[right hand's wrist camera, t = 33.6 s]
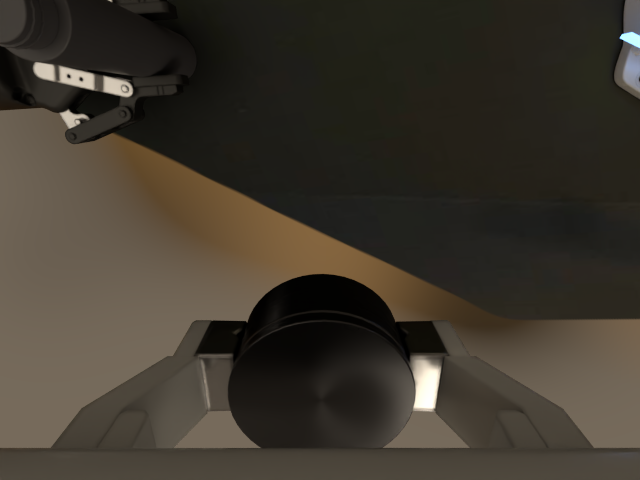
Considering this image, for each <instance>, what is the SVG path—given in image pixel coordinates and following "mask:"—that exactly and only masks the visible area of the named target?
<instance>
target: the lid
mask: <svg viewBox="0 0 640 480" xmlns="http://www.w3.org/2000/svg"><path fill="white" fill-rule="evenodd" d="M415 397H416V386H415V379H414V376H413V372H412V369H411V366H410V364H409V361H408V358H407V355H406V352H405V349H404V346H403V343H402V340H401V337H400V334H399V331H398V328H397V325H396V322H395V319H394V317H393V315H392V313H391V311H390V309H389V308H388V306H387V305H386V303H385V302H384V301H383V300H382V299H381V298H380V296H378V295H377V294H376V293H375V292H374V291H373V290H371V289H370V288H368V287H366V286H365V285H363V284H361V283H359V282H357V281H355V280H352V279H349V278H346V277H342V276H337V275H329V274H313V275H306V276H301V277H297V278H294V279H291V280H288V281H286V282H284V283H282V284H280V285H278V286H276V287H275V288H273V289H272V290H271V291H269V292H268V293H267V294H265V295H264V296H263V297H262V299H261V300H260V301H259V302H258V303H257V305H256V306H255V307H254V309H253V311H252V313H251V314H250V316H249V319H248V322H247V325H246V328H245V331H244V334H243V337H242V340H241V343H240V347H239V350H238V353H237V356H236V359H235V362H234V365H233V368H232V371H231V374H230V377H229V382H228V402H229V407H230V410H231V413H232V416H233V418H234V419H235V421H236V423H237V425H238V426H239V428H240V429H241V430H242V432H243V433H244V434H245V435H246V436H247V437H248V438H249V439H250V440H251V441H253V442H254V443H255V444H256V445H258V446H259V447H261V448H383V447H384V446H385V445H387V444H388V443H389V442H391V441H392V440H393V439H394V438H395V437H396V436H397V435H398V434H399V433H400V432H401V430H402V429H403V428H404V427H405V425H406V423H407V422H408V420H409V418H410V416H411V413H412V411H413V408H414V404H415Z"/></svg>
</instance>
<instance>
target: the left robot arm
mask: <svg viewBox="0 0 640 480" xmlns="http://www.w3.org/2000/svg"><path fill="white" fill-rule="evenodd" d="M109 1H111V2H113V3H115V4H117V5H119V6H121V7H123V8H125V9H127V10H130V11H132V12H134V13H136V14H138V15H140V16H142V17H144V18H146V19H148V20H150V21H152V20H165V19H176V18H178V17H177V11H176V7H175V6H174V5H172V4H171V3H169V2H167V0H109ZM132 79H133V80H128V79H124V78H120V77H117V76H113V75H109V74H104V73H103V72H102V71H95V70H88V69H81V68H74V67H67V66H60V65H53V64H46V63H38V62H32V61H28V60H25V59H23V58H20V57H18V56H17V55H15V54H13V53H12V52H10V51H9V50H8V49H6V48H5V47H2V46H0V110H14V109H29V108H45V109H48V110H50V111H52V112H55V113H59V114H60V116H61V117H62V119H63V120H64V122H65V124H66V125H67V127H68V128H69V129H68V130H67V131H66V132H65V137H66V139H67V140H68V141H69V142H70V143H72V144H79V143H85V142H90V141H95V140H97V139H100V138H102V137H104V136H106V135H109V134H111V133H113V132H115V131H118V130H120V129H122V128H124V127H127V126H129V125H131V124H134V123H136V122H138V121H140V120H142V119H143V118H144V117H145V112H144V110H143V103H144V100H145V99H146V98H148V97H156V96H171V95H179V94H181V93H183V92H184V91H183V86H186V85H190V84H189V79H188V76H186V75H181V74H175V75H159V76H146V77H132ZM92 91H99V92H105V93H109V94H114V95H118V96H120V101H119V106H118V107H116V108H114V109H112V110H110V111H107V112H105V113H103V114H101V115H99V116H96V117H95V116H94V115H92V114H89V113H88V114H81V113H79V112H78V111H77V110H76V109H77V108H78V107H79V105H80V104H81V103H82V102H83V101H84V100H85V99H86V98H87V97H88V95H89V94H90V93H91V92H92Z"/></svg>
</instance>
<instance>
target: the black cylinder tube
mask: <svg viewBox="0 0 640 480" xmlns="http://www.w3.org/2000/svg"><path fill="white" fill-rule="evenodd" d="M0 46H2V47H5V48H6V49H8V50H9V51H10V52H12V53H13V54H15V55H17V56H18V57H20V58H23V59H25V60H28V61H32V62H38V63H46V64H53V65H60V66H67V67H74V68H81V69H88V70H95V71H102V72H109V73H117V74H124V75H131V76H138V77H146V76H159V75H175V74H181V75H186V76H188V79H189V78H190V77H191V76H192V75H193V73H194V71H195V69H196V64H197V58H196V53H195V50H194V48H193V46H192V44H191V43H190V42H189V41H188V40H187V39H186V38H185V37H183V36H182V35H180V34H178V33H176V32H173V31H171V30H169V29H167V28H165V27H163V26H161V25H159V24H157V23H155V22H153V21H150V20H148V19H146V18H144V17H142V16H140V15H138V14H136V13H134V12H132V11H130V10H127V9H125V8H123V7H121V6H119V5H117V4H115V3H113V2H111V1H109V0H0Z"/></svg>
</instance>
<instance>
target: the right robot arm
mask: <svg viewBox="0 0 640 480" xmlns="http://www.w3.org/2000/svg"><path fill="white" fill-rule="evenodd" d="M623 27H624V34H622V36H621V37H620V38H621V39H623V47H622V49H621V52H620V55H619V58H618V61H617V64H616V67H615V72H614V80H615V83H616V84H617V85H618V86H619V87H621V88H623V89H624V90H626V91H627V92H629V93H630V94H632V95H634V96H635V97H637V98H638V99H640V82H639V77H640V0H625V5H624V16H623ZM246 325H247V322H246V321H211V320H200V321H199V320H198V321H194V322H193V323H192V324H191V326H190V328H189V329H188V331H187V333H186V335H185V336H184V338H183V340H182V341H181V343H180V345H179V347H178V348H177V350H176V352H175V353H174V355H173V356H167V357H166V358H164V359H162V360H161V361H159V362H157V363H156V364H154V365H152V366H151V367H149V368H148V369H146V370H144V371H143V372H141V373H139V374H138V375H136V376H134V377H133V378H131V379H129V380H128V381H126V382H124V383H123V384H121V385H119V386H118V387H116V388H114V389H113V390H111V391H109V392H108V393H106V394H105V395H103V396H101V397H100V398H98V399H96V400H95V401H93V402H91V403H90V404H88V405H86V406H85V407H83V408H82V409H81V410H80V411H79V413H78V414H77V415H76V416H75V418H74V419H73V420H72V421H71V423H70V424H69V425H68V426H67V428H66V429H65V430H64V432H63V433H62V434H61V436H60V437H59V438H58V439H57V441H56V442H55V443H54V444H53V446H52V447H51V448H0V480H640V448H594V447H593V446H592V445H591V444H590V442H589V441H588V440H587V438H586V437H585V436H584V435H583V433H582V432H581V431H580V430H579V428H578V427H577V426H576V425H575V423H574V422H573V421H572V420H571V418H570V417H569V416H568V414H567V413H566V412H565V411H564V409H562V408H561V407H559V406H557V405H556V404H554V403H552V402H551V401H549V400H547V399H546V398H544V397H542V396H541V395H539V394H538V393H536V392H534V391H533V390H531V389H529V388H528V387H526V386H524V385H523V384H521V383H519V382H518V381H516V380H514V379H513V378H511V377H509V376H508V375H506V374H504V373H503V372H501V371H499V370H498V369H496V368H494V367H493V366H491V365H489V364H488V363H486V362H484V361H483V360H481V359H479V358H478V357H476V356H470V355H469V353H468V351H467V350H466V348H465V346H464V345H463V343H462V341H461V340H460V338H459V336H458V335H457V333H456V331H455V330H454V328H453V327H452V325H451V323H450V322H449V321H447V320H439V321H406V322H396V325H397V328H398V331H399V334H400V337H401V340H402V343H403V346H404V349H405V352H406V355H407V358H408V361H409V364H410V366H411V369H412V372H413V376H414V379H415V386H416V397H415V404H414V408H413V411H436V414H437V415H438V416H439V417H440V418H441V419H442V420H443V421H444V422H445V423H446V424H447V425H448V426H449V427H450V428H451V429H452V430H453V431H454V432H455V433H456V434H457V435H458V436H459V437H460V438H461V439H462V440H463V441H464V442H465V443H466V444H467V445H468V446H469V447H470V448H174V447H175V446H176V445H177V444H178V443H179V442H180V441H181V440H182V439H183V438H184V437H185V436H186V434H187V433H188V432H189V431H190V430H191V429H192V428H193V427H194V426H195V425H196V424H197V423H198V422H199V421H200V420H201V419H202V418H203V417H204V416H205V415H206V414H207V411H231V410H230V407H229V402H228V382H229V377H230V374H231V371H232V368H233V365H234V362H235V359H236V356H237V353H238V350H239V347H240V343H241V340H242V337H243V334H244V331H245V328H246Z"/></svg>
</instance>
